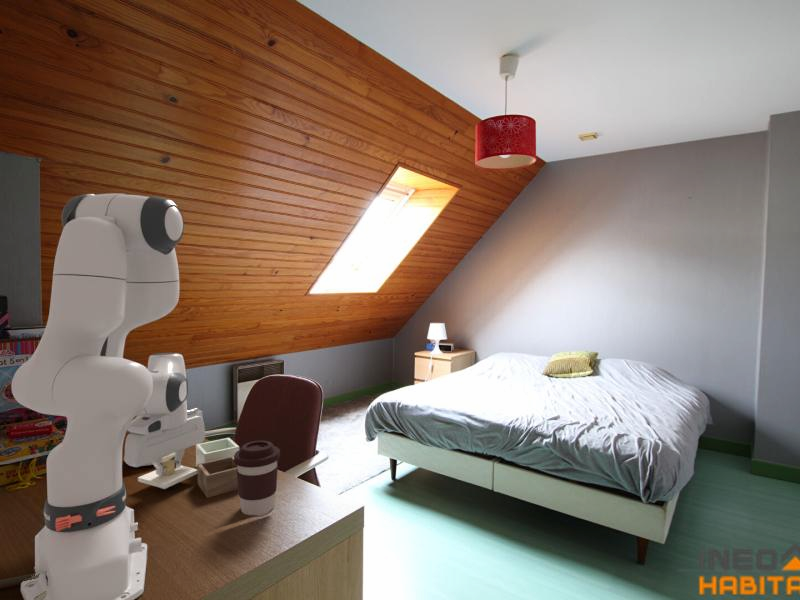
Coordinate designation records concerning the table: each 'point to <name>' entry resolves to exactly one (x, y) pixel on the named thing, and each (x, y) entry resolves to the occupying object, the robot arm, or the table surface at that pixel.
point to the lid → (168, 475)
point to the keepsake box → (217, 476)
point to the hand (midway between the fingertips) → (168, 470)
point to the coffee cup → (257, 477)
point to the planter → (215, 450)
